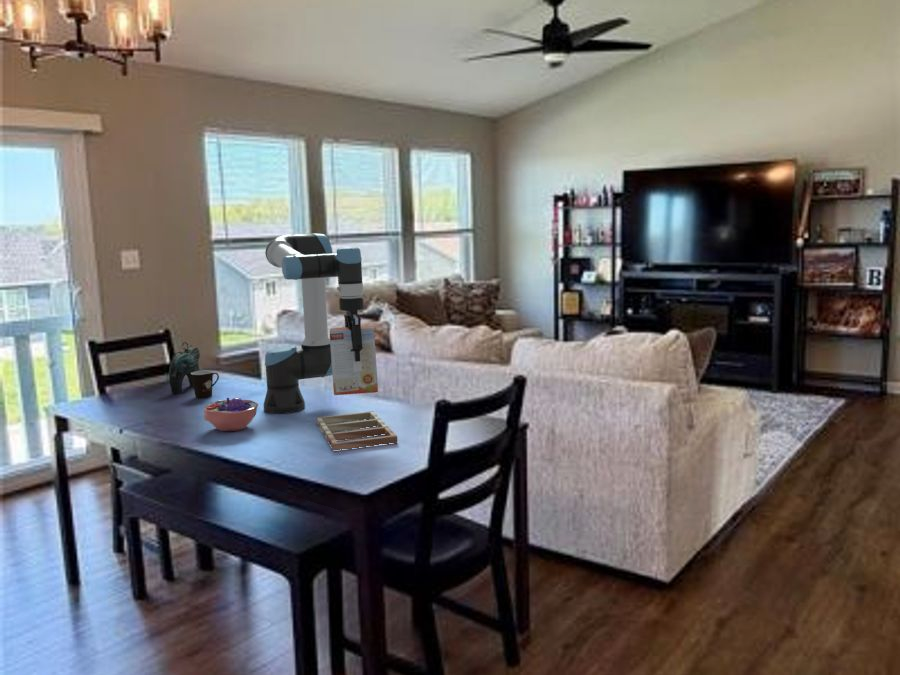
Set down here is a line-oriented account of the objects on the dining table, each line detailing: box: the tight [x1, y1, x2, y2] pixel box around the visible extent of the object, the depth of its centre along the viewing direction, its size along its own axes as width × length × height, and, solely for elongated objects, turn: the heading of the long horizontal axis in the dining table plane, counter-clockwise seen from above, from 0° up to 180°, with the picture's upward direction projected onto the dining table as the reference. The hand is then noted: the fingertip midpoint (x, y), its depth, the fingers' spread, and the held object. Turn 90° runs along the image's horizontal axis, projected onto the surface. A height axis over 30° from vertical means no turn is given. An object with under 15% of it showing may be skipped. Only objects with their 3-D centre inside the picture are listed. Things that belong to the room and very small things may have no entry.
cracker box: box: [328, 325, 379, 396], centre depth 234 cm, size 14×6×21 cm, turn 96°
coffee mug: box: [191, 369, 220, 399], centre depth 301 cm, size 12×9×10 cm
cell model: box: [202, 397, 259, 432], centre depth 252 cm, size 17×20×11 cm
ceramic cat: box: [168, 341, 201, 395], centre depth 315 cm, size 20×6×20 cm, turn 169°
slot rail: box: [316, 410, 398, 451], centre depth 243 cm, size 33×20×2 cm, turn 19°
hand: (355, 369), depth 234 cm, fingers closed on cracker box, 7 cm apart
